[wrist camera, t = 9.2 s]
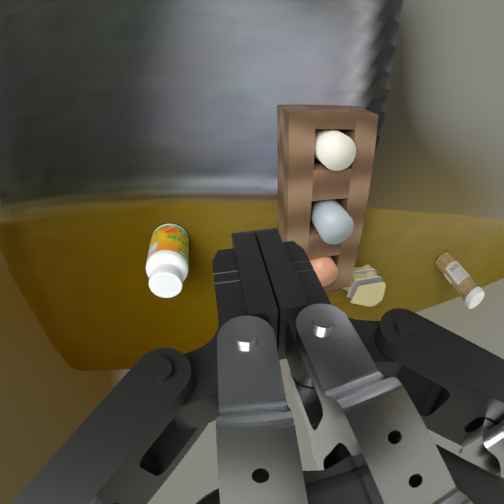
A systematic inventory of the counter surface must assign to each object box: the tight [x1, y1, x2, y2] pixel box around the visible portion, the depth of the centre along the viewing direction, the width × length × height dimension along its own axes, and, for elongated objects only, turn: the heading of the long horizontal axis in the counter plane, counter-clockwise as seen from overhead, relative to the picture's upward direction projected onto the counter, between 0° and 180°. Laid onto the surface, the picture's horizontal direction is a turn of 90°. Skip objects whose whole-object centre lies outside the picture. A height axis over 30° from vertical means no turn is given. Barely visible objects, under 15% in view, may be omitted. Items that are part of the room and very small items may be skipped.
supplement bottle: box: [146, 224, 189, 298], centre depth 37 cm, size 5×5×10 cm
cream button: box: [314, 129, 356, 171], centre depth 32 cm, size 4×4×5 cm
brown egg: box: [309, 256, 338, 287], centre depth 43 cm, size 4×4×5 cm
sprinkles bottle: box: [436, 252, 484, 309], centre depth 49 cm, size 5×5×14 cm
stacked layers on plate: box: [343, 265, 386, 306], centre depth 50 cm, size 10×9×6 cm
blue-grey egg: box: [310, 199, 354, 244], centre depth 36 cm, size 4×4×5 cm
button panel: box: [277, 105, 378, 291], centre depth 39 cm, size 27×11×5 cm, turn 2°
